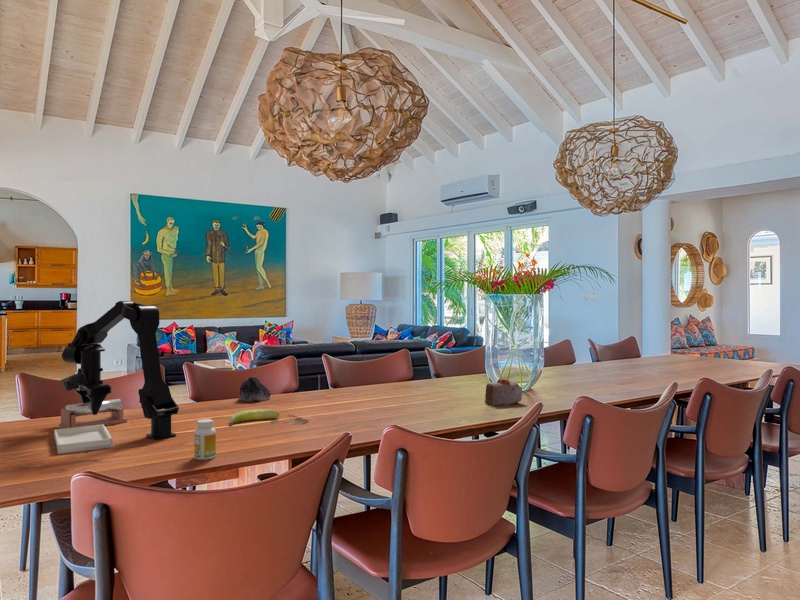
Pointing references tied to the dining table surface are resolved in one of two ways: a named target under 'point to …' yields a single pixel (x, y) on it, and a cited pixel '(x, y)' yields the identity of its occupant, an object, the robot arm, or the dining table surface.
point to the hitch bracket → (69, 420)
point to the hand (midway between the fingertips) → (90, 413)
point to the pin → (86, 408)
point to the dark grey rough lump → (253, 390)
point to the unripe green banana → (260, 416)
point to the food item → (503, 393)
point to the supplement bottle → (205, 440)
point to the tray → (82, 439)
